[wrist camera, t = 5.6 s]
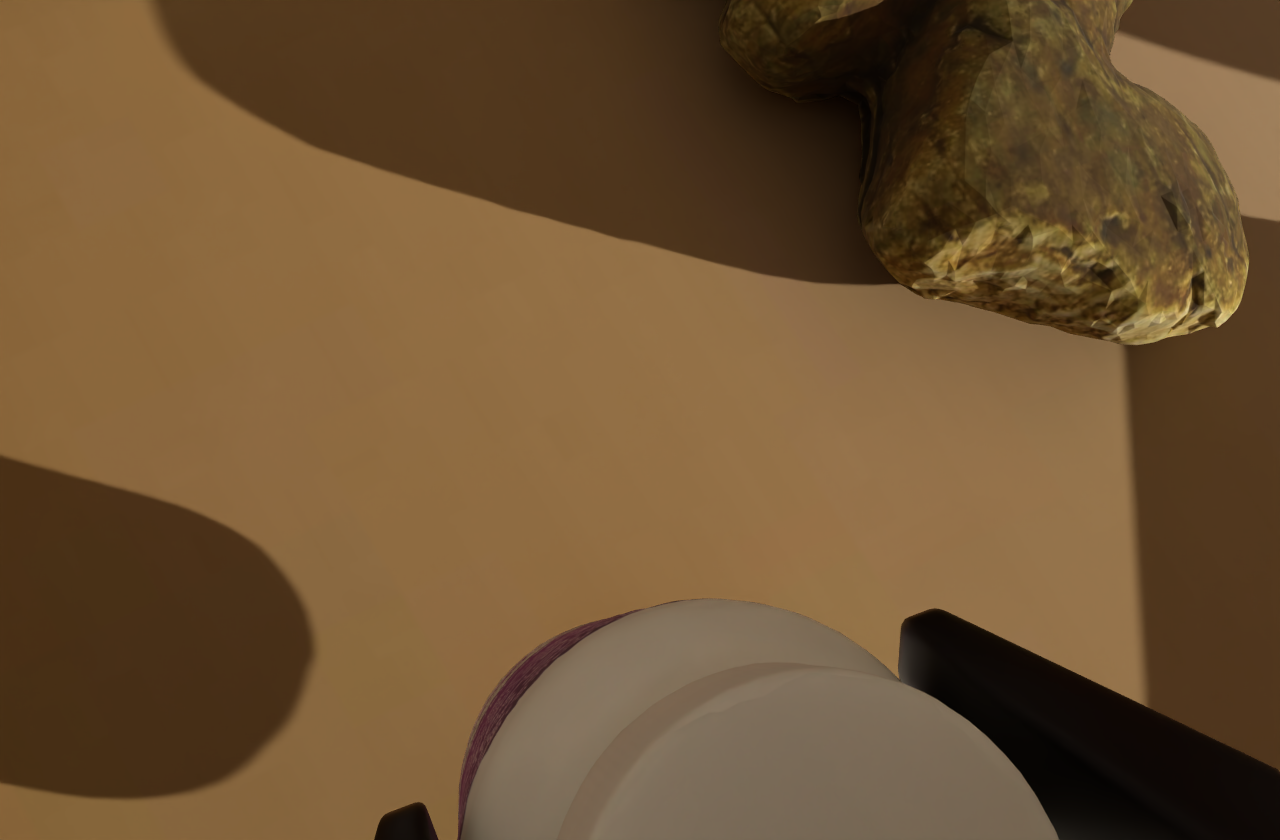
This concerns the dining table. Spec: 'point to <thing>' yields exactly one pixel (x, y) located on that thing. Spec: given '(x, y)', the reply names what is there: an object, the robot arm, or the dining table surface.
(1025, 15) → the sculpture
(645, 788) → the pill bottle
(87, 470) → the dining table surface
